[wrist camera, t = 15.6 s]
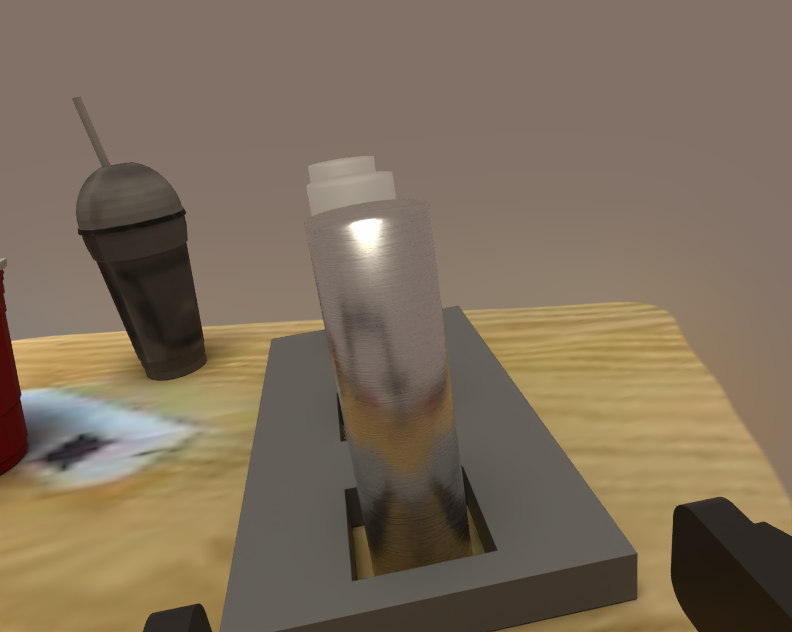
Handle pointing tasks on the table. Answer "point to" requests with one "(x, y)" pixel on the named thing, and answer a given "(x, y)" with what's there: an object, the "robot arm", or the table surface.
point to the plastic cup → (9, 395)
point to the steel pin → (393, 378)
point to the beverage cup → (143, 260)
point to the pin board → (483, 485)
